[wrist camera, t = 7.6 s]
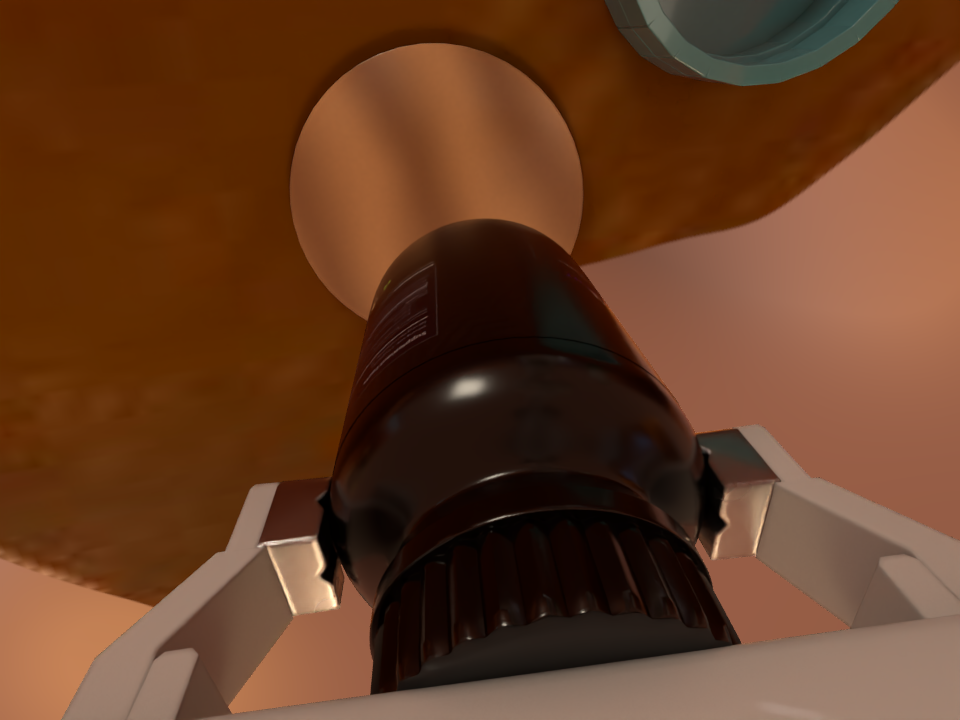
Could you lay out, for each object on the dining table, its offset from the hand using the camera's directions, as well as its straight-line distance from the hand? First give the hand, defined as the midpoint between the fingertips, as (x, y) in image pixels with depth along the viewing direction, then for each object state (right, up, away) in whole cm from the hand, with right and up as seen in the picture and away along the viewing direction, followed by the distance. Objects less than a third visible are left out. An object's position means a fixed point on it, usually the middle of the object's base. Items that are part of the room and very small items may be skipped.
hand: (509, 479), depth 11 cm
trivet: (-3, +11, +20) cm, 23 cm away
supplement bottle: (-1, +4, +6) cm, 7 cm away
